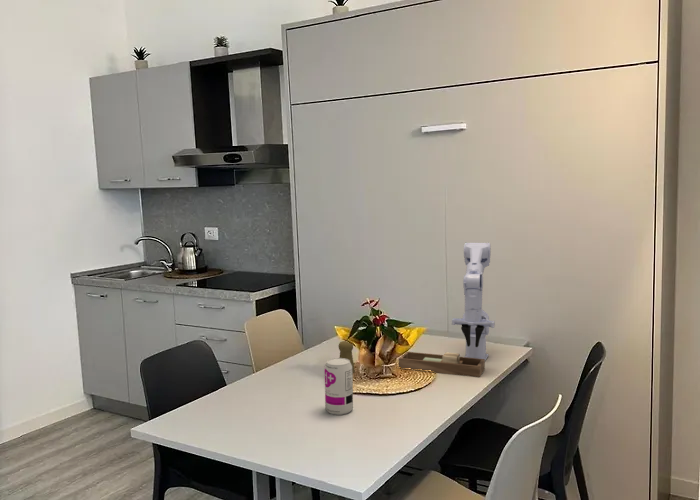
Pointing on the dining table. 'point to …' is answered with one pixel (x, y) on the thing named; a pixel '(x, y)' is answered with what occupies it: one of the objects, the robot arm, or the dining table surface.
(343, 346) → the olive pepper mill
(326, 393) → the supplement can
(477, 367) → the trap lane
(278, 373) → the dining table surface
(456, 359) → the maple block
